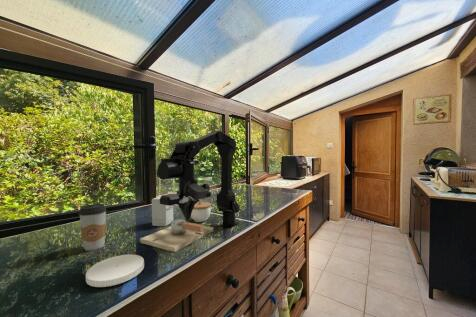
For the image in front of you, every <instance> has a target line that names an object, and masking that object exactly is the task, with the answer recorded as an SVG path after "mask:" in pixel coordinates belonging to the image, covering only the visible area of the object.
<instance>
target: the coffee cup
mask: <svg viewBox="0 0 476 317" xmlns="http://www.w3.org/2000/svg"><path fill="white" fill-rule="evenodd" d="M106 214H107V206H106V205H105V204H104V203H93V204H87V205H83V206H80V209H79V211H78V215H79V220H80V222H79V223H80V230H81V239H82V245H83V249H84V250H85V251H87V252H88V251H96V250H99V249H101V248H103V247H104V246H105V245H106V244H105V241H106V228H107V227H106V226H107V225H106V224H107V223H106V221H107V220H106V219H107V218H106V216H107V215H106Z"/></svg>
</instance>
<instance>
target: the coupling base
mask: <svg viewBox="0 0 476 317" xmlns="http://www.w3.org/2000/svg"><path fill="white" fill-rule="evenodd" d="M213 232H214V227H213V226H207V225H204V231H202V232H197V231H192V230H187V229H186V233H184V234H180V235H173V234H171V225H170V226H168V227H166V228H164V229H161V230H158V231H156V232H153V233H150V234H149V235H146V236H144V237H140V238H139V243H140V244H142V245H143V244H144V245H148V246H152V247H154V248H158V249H163V250H166V251H170V252H173V253H177V252H178V251H180V250H181V249H183V248H185V247H187V246H189V245H190V244H192V243H195V242H196V241H199V240H200V239H201V238H203V237H205V236H207V235H209V234H210V233H213Z"/></svg>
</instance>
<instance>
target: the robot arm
mask: <svg viewBox="0 0 476 317" xmlns="http://www.w3.org/2000/svg"><path fill="white" fill-rule="evenodd" d="M212 144H213V146H214V147H216V148H217V153H218V155H219V156H220V191H219V193H216V195H215V197H216V201H215V203H216V206H217V209H218V212H222V222H221V223H220V224H219V225H220V226H221V227H226V228H233V227H235V226H236V225H239V221H237V220H236V215H237V213H239V212H240V210H241V207H240V204H239V203H238V202H237V201H236V200H237V199H236V198H237V197H236V194H235V192H234V191H233V185H232V184H233V157H234V155H235V153H236V152H237V151H236V150H237V142H236V140H235V139H234V138H233V137H231V136H229V135H228V134H225V133H224V132H223V131H221V130H212V131H210V132H209V133H207V134H204V135H201V136H200V137H197V138H196V139H193V140H187V141H180V142H177V143H176V144H175V147H174V150H173V151H172V152H171V155H170V156H169V158H160V159H161V160H160V163H159V164H158V166H157V169H156V171H157V172H156V173H157V176H158V177H159V179H160V180H162V181H164V180H171V179H172V180H173V179H175V181H176V183H177V184H178V190H177V191H176V194H172V193H168V194H163V195H160V196H161V197H160V196H159V197H160V204H163V205H167V206H171V205H173V206H176V205H177V206H178V207H179V208H180V211H181V212H182V214H183V217H184V220H186V221H190V219H191V218H192V217H191V214H192V210H193V208H194V205H195V204H196V203H199V201H201V200H205V199H206V198H210V197H212V192H211V190H210V189H211V188H210V184H208V183H203V184H199V182H198V179H196V177H195V176H196V175H195V164H199V161H198V160H197V159H196V158H195V157H196V156H197V155H198V154H200V152H201V150H202V149H204V148H206V147H208V146H210V145H212Z"/></svg>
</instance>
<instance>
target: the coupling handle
mask: <svg viewBox="0 0 476 317" xmlns="http://www.w3.org/2000/svg"><path fill="white" fill-rule="evenodd" d="M170 226H171V234H173V235H180V234H184V233H186V229H187V230H192V231H197V232H202V231H204V226H205V225H204V224H199V223H193V222H188V221H187V220H186V219H180V218H178V219H175V220H174V219H173V221H171V223H170Z"/></svg>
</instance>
